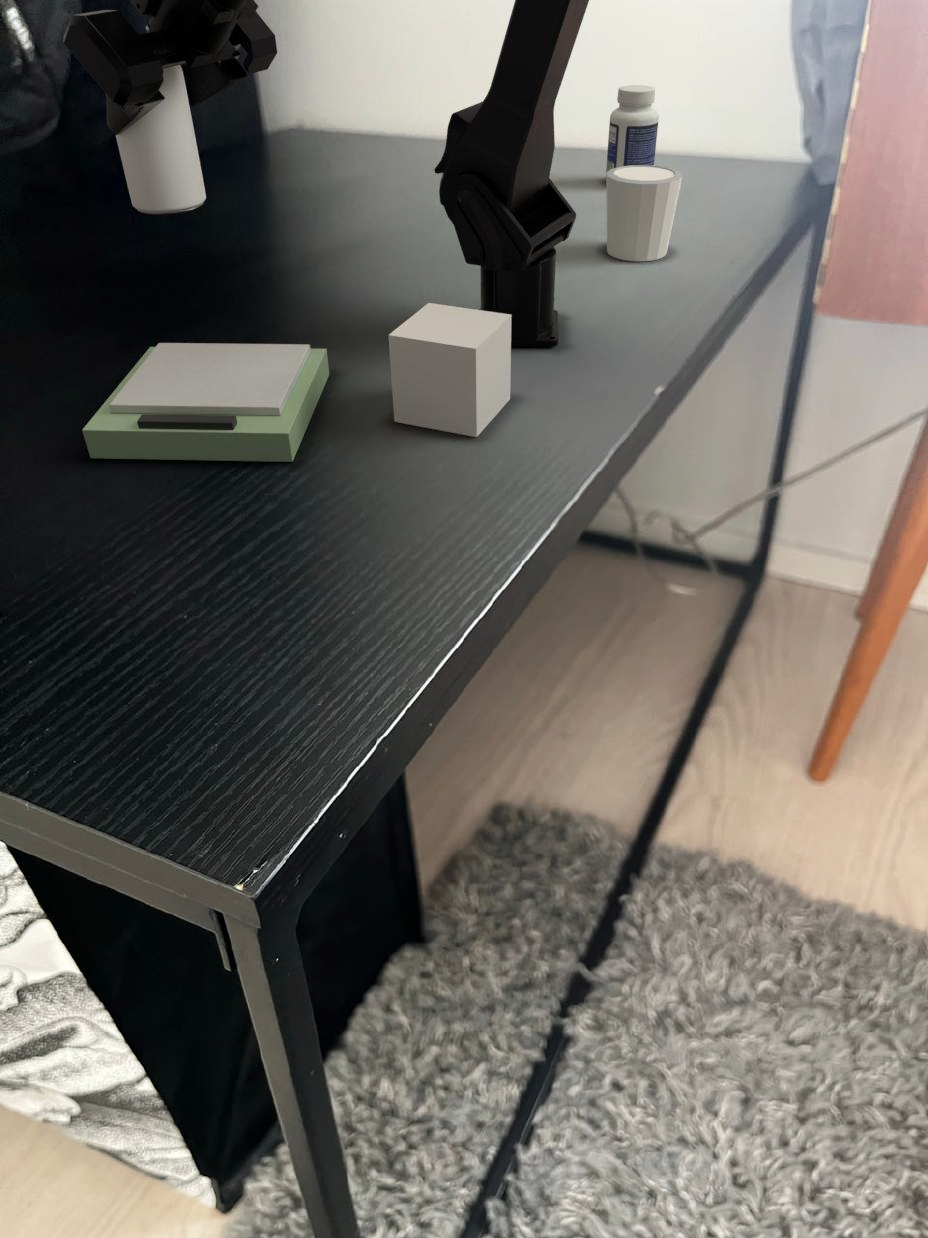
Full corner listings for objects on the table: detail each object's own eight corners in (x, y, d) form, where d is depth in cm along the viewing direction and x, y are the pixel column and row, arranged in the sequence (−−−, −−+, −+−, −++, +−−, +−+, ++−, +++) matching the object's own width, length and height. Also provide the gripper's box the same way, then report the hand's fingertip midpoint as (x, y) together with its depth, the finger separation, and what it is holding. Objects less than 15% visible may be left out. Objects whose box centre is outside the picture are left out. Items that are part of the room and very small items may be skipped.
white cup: (672, 265, 86) (682, 183, 82) (597, 261, 87) (603, 180, 83) (674, 242, 91) (683, 164, 87) (603, 238, 93) (609, 162, 88)
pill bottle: (659, 180, 109) (669, 85, 103) (640, 191, 106) (649, 93, 100) (617, 174, 112) (624, 81, 106) (597, 185, 108) (603, 89, 102)
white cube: (510, 399, 65) (512, 314, 61) (476, 437, 61) (476, 348, 57) (431, 385, 67) (428, 302, 63) (393, 421, 63) (388, 334, 59)
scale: (292, 462, 59) (287, 424, 57) (90, 458, 59) (79, 420, 58) (329, 374, 69) (325, 340, 67) (156, 372, 69) (148, 338, 68)
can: (173, 219, 80) (139, 56, 73) (117, 211, 83) (78, 53, 75) (222, 199, 84) (195, 44, 77) (167, 192, 87) (135, 42, 80)
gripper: (223, -133, 74) (150, 27, 85) (40, -131, 61) (-18, 58, 72) (318, -12, 76) (234, 130, 87) (160, 15, 63) (86, 177, 74)
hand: (141, 122), depth 80 cm, fingers closed on can, 6 cm apart
